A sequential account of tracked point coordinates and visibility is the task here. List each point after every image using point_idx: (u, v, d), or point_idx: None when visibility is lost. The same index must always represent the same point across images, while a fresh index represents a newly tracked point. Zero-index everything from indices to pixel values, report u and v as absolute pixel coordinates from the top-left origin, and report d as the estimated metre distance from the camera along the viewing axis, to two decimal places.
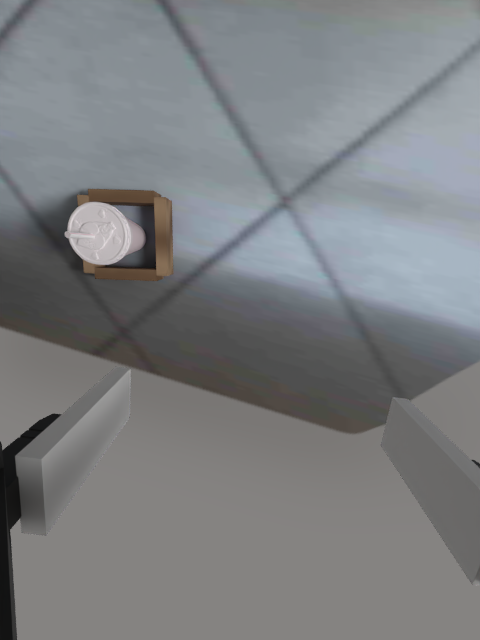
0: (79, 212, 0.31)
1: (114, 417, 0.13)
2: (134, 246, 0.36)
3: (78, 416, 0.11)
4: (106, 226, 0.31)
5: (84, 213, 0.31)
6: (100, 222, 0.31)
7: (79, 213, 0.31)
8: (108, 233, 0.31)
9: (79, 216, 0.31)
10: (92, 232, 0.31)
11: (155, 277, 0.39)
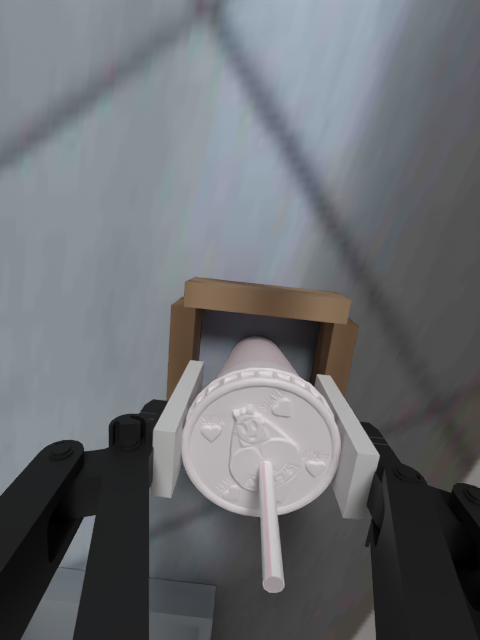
0: (204, 481, 0.12)
1: None
2: (284, 361, 0.16)
3: (184, 400, 0.12)
4: (243, 427, 0.11)
5: (207, 471, 0.12)
6: (231, 438, 0.12)
7: (207, 482, 0.12)
8: (262, 425, 0.11)
9: (213, 483, 0.12)
10: (256, 463, 0.12)
11: (350, 327, 0.17)
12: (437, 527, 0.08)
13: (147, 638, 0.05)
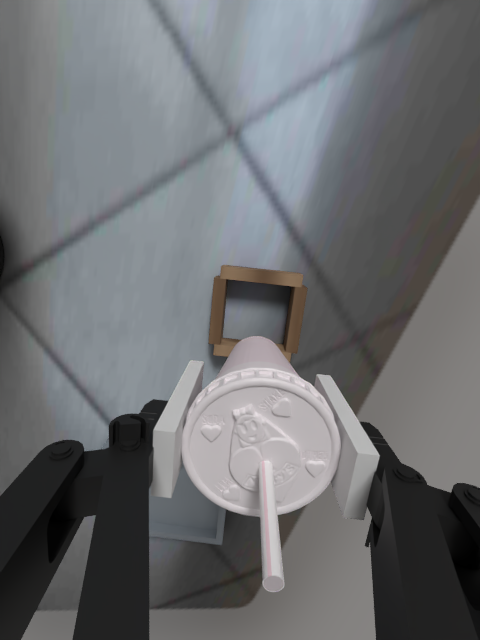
0: (204, 481, 0.12)
1: None
2: (284, 361, 0.16)
3: (183, 400, 0.12)
4: (243, 427, 0.11)
5: (207, 470, 0.12)
6: (231, 438, 0.12)
7: (207, 481, 0.12)
8: (262, 425, 0.11)
9: (214, 483, 0.12)
10: (256, 463, 0.12)
11: (303, 288, 0.35)
12: (437, 527, 0.08)
13: (147, 638, 0.05)
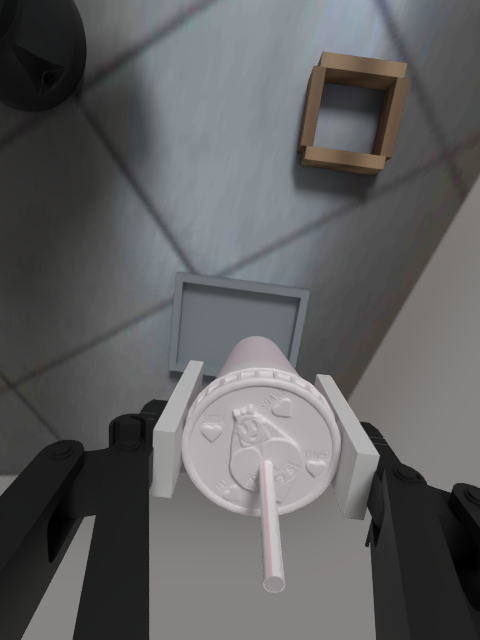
0: (205, 481, 0.12)
1: None
2: (285, 361, 0.16)
3: (184, 400, 0.12)
4: (244, 427, 0.11)
5: (208, 470, 0.12)
6: (231, 438, 0.12)
7: (207, 481, 0.12)
8: (262, 425, 0.11)
9: (214, 483, 0.12)
10: (256, 463, 0.12)
11: (405, 79, 0.33)
12: (437, 527, 0.08)
13: (147, 638, 0.05)
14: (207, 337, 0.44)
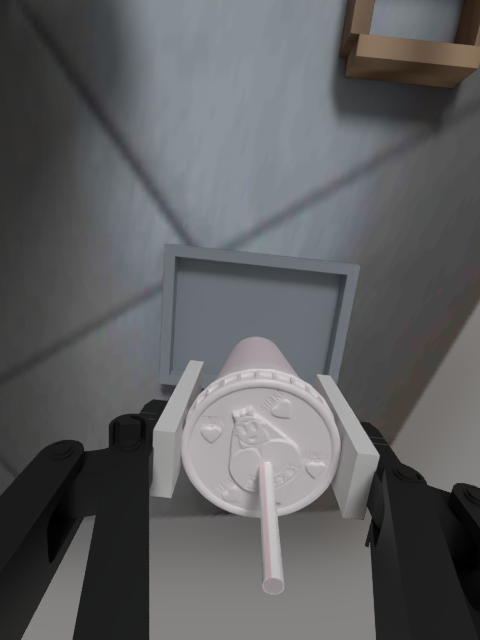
0: (204, 482, 0.12)
1: None
2: (284, 362, 0.16)
3: (184, 400, 0.12)
4: (243, 428, 0.11)
5: (207, 472, 0.12)
6: (231, 439, 0.12)
7: (207, 483, 0.12)
8: (262, 426, 0.11)
9: (213, 484, 0.12)
10: (256, 464, 0.12)
11: None
12: (437, 527, 0.08)
13: (147, 638, 0.05)
14: (212, 336, 0.31)
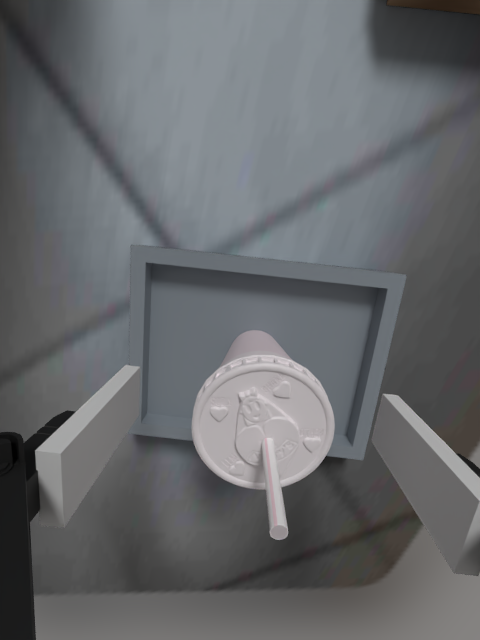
0: (212, 458, 0.14)
1: (125, 414, 0.14)
2: (282, 351, 0.17)
3: (92, 413, 0.11)
4: (248, 407, 0.13)
5: (215, 448, 0.13)
6: (237, 418, 0.13)
7: (215, 458, 0.14)
8: (264, 406, 0.13)
9: (221, 460, 0.14)
10: (259, 440, 0.13)
11: None
12: None
13: None
14: (200, 369, 0.23)
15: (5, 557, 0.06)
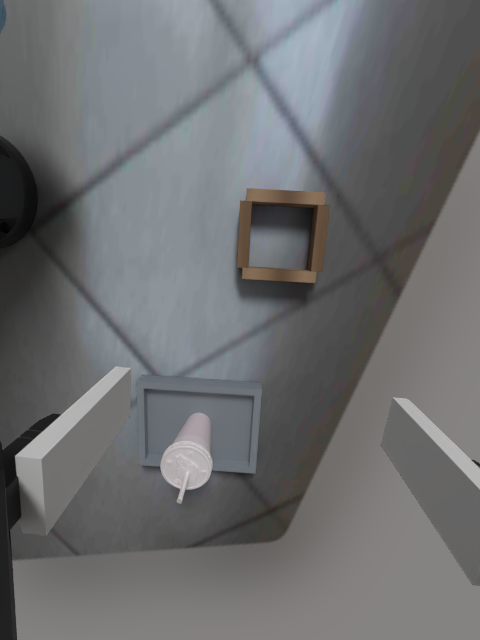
0: (169, 478, 0.37)
1: (114, 417, 0.13)
2: (201, 431, 0.40)
3: (78, 416, 0.11)
4: (179, 461, 0.36)
5: (169, 475, 0.37)
6: (176, 464, 0.37)
7: (169, 478, 0.37)
8: (184, 460, 0.36)
9: (172, 479, 0.37)
10: (184, 472, 0.37)
11: (326, 206, 0.36)
12: None
13: None
14: (173, 432, 0.47)
15: None
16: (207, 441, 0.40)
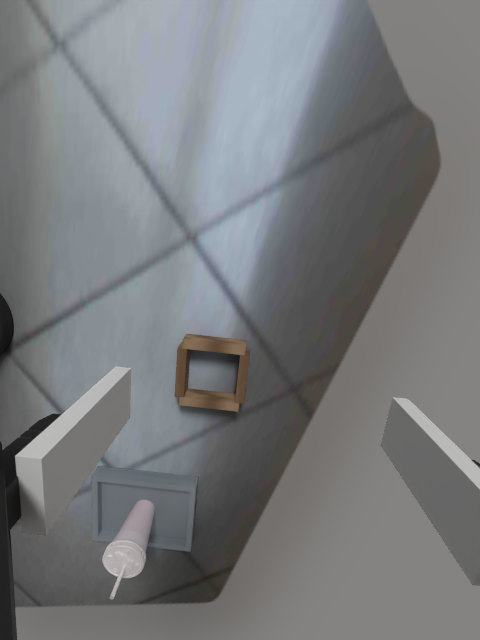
0: (109, 568, 0.46)
1: (114, 417, 0.13)
2: (141, 524, 0.49)
3: (78, 416, 0.11)
4: (117, 557, 0.45)
5: (110, 566, 0.46)
6: (115, 559, 0.45)
7: (110, 569, 0.46)
8: (122, 556, 0.45)
9: (112, 569, 0.46)
10: (121, 565, 0.45)
11: (246, 356, 0.45)
12: None
13: None
14: (123, 513, 0.55)
15: None
16: (145, 534, 0.48)
